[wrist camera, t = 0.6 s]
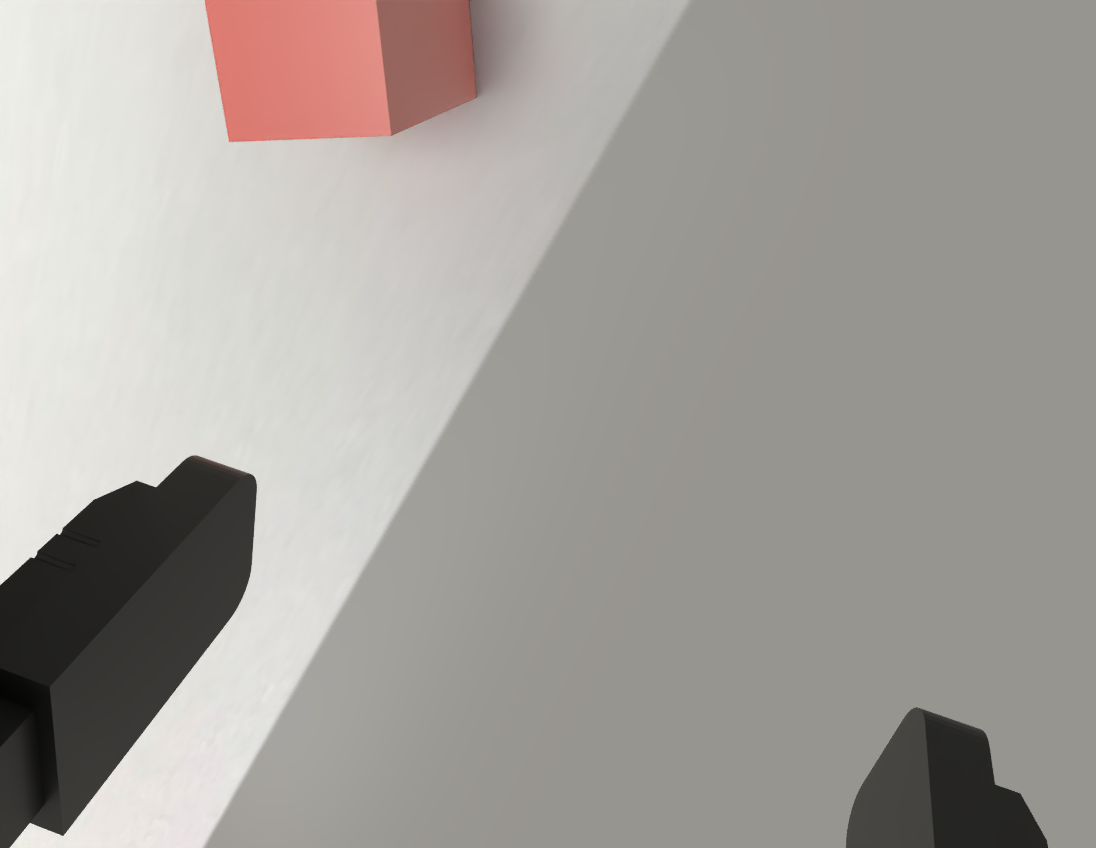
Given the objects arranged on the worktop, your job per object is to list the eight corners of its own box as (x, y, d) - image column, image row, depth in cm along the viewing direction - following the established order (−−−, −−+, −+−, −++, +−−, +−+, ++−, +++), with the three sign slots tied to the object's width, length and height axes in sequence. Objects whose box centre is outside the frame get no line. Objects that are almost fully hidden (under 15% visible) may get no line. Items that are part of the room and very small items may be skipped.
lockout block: (336, -36, 34) (197, -44, 25) (465, -45, 34) (369, -56, 25) (353, 102, 36) (228, 141, 27) (476, 97, 35) (391, 135, 26)
